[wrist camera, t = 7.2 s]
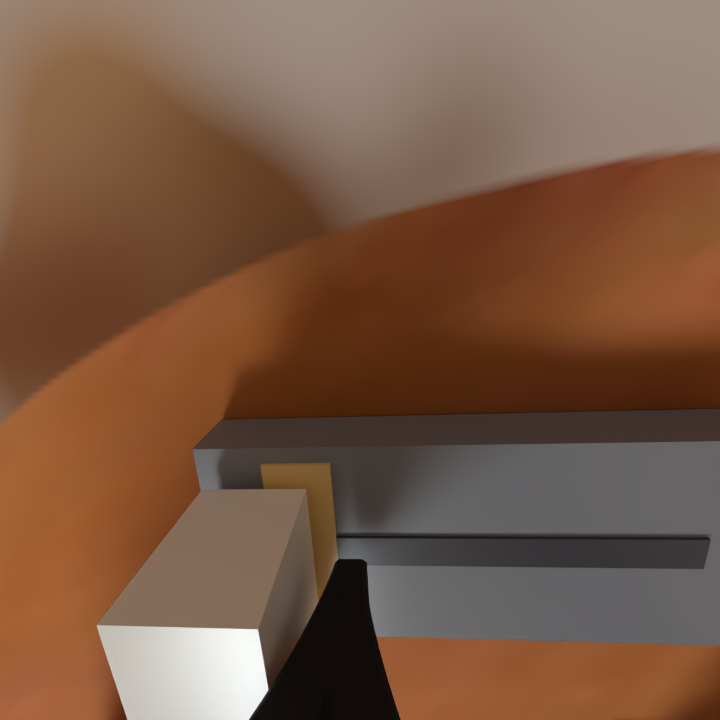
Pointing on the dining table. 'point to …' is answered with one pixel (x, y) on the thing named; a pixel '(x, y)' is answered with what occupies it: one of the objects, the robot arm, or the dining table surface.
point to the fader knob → (214, 608)
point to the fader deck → (504, 517)
